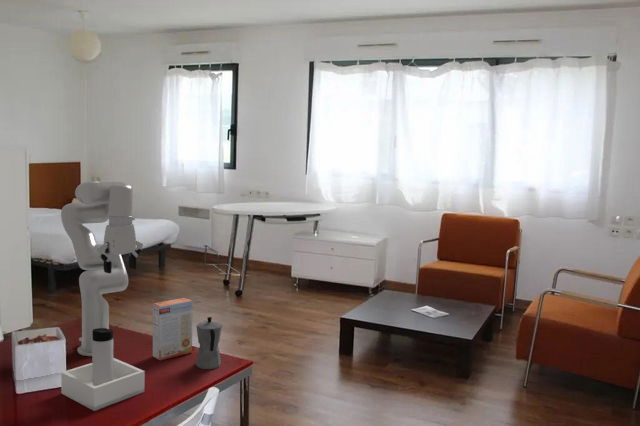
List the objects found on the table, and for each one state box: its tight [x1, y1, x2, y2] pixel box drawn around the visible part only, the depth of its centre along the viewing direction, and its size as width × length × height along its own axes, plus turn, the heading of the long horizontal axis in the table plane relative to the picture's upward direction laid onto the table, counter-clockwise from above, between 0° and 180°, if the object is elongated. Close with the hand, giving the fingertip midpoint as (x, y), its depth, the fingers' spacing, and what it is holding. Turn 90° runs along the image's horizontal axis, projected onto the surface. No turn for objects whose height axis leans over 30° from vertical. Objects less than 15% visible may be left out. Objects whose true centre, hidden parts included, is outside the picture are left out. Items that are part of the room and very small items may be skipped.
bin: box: [60, 357, 146, 412], centre depth 185 cm, size 18×18×7 cm
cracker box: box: [152, 297, 194, 361], centre depth 219 cm, size 14×6×21 cm, turn 133°
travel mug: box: [91, 328, 114, 386], centre depth 184 cm, size 6×7×20 cm
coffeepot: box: [195, 316, 223, 370], centre depth 210 cm, size 15×9×18 cm, turn 20°
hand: (120, 270), depth 197 cm, fingers open, 9 cm apart
